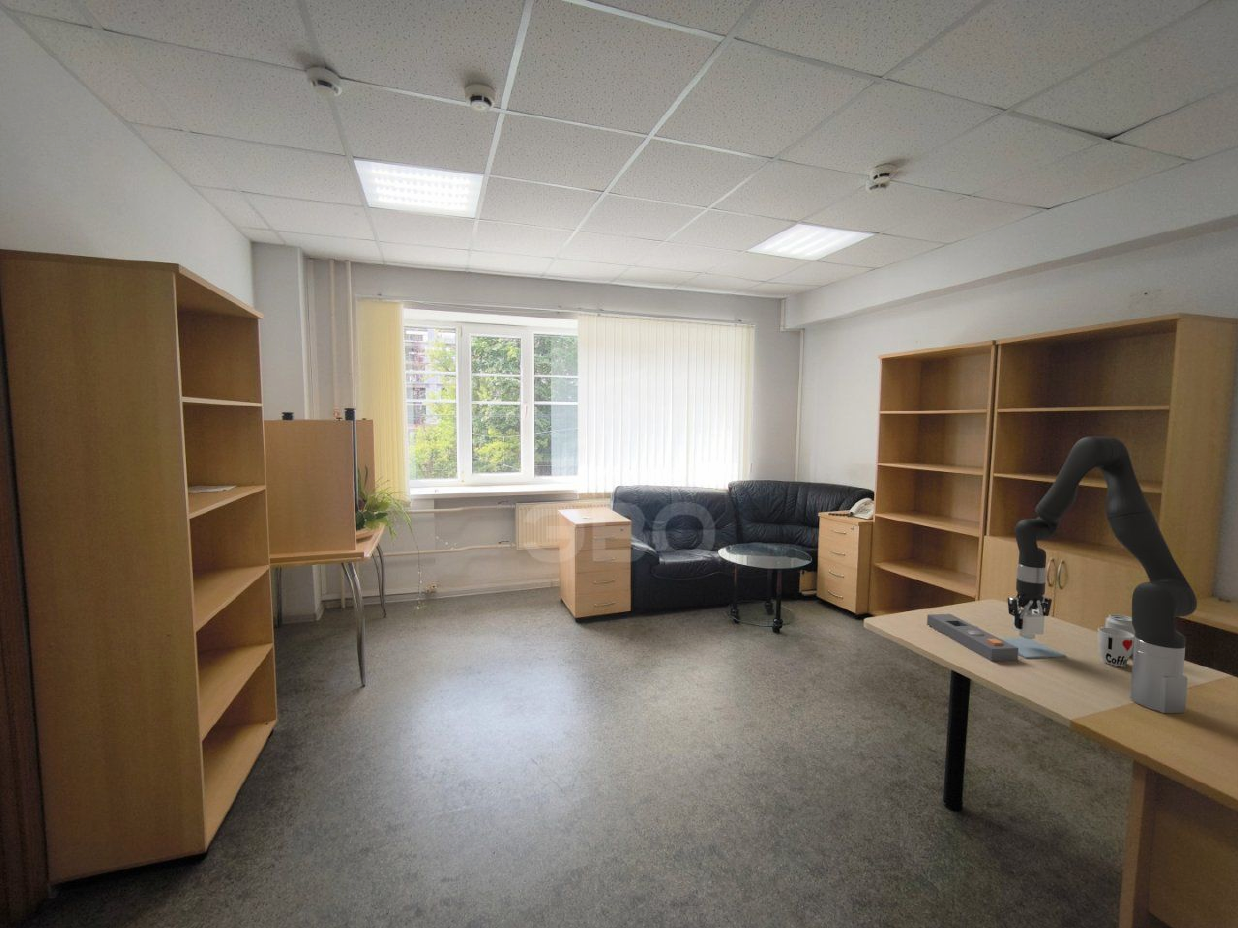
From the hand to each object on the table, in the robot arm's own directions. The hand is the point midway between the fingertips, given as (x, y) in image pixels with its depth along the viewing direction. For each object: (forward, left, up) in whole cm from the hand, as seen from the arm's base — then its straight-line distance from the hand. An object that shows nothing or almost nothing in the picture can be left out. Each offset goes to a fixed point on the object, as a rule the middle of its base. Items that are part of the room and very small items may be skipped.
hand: (1027, 627), depth 171 cm
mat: (0, 0, -7) cm, 7 cm away
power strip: (+7, +15, -7) cm, 18 cm away
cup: (-12, -18, -7) cm, 23 cm away
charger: (0, 0, -3) cm, 3 cm away
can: (-5, -28, -7) cm, 29 cm away
